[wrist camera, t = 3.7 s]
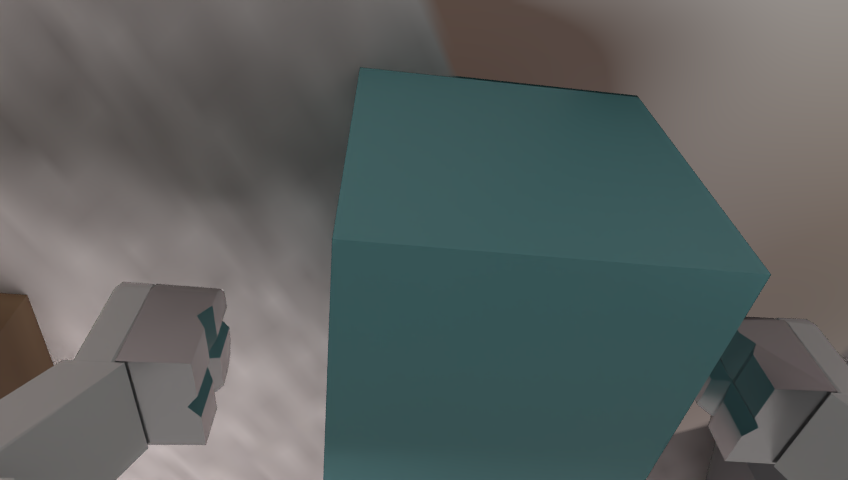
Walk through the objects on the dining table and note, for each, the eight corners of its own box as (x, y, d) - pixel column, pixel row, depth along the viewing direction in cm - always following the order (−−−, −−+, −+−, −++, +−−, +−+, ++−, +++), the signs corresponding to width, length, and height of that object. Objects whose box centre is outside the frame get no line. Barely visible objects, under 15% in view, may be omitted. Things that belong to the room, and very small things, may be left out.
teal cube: (637, 95, 11) (771, 274, 7) (564, 298, 14) (629, 506, 10) (359, 65, 10) (332, 239, 6) (347, 282, 13) (323, 492, 9)
